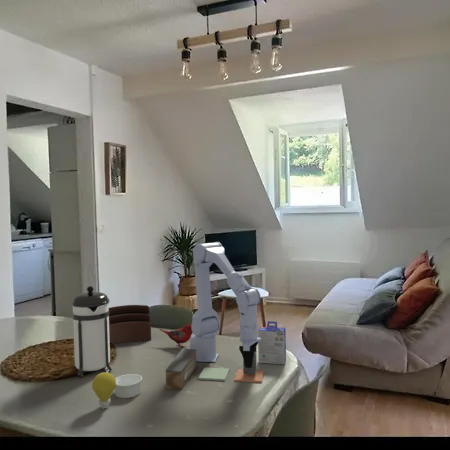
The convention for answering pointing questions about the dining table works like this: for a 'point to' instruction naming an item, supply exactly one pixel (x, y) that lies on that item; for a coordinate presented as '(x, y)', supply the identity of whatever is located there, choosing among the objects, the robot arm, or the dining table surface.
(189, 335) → the decorative bird figurine
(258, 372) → the terracotta mat
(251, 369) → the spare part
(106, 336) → the coffee press
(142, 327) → the letter holder
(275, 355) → the ink cartridge box
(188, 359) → the block
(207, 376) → the sage mat
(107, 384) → the light bulb
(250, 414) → the dining table surface
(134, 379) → the ramekin
